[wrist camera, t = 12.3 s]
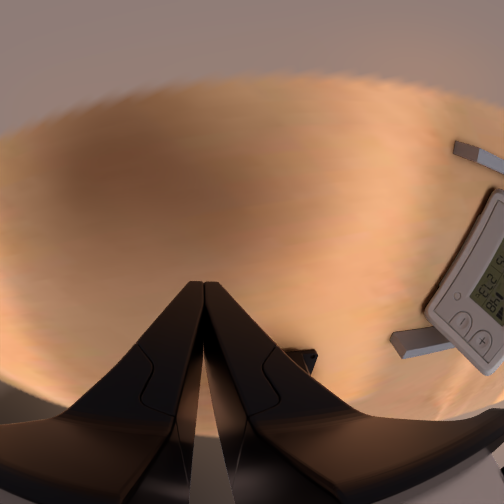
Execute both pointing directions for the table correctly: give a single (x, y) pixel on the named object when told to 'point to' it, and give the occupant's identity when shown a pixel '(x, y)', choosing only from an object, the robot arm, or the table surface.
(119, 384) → the robot arm
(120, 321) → the table surface
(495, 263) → the digital clock
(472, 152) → the gray bracket
